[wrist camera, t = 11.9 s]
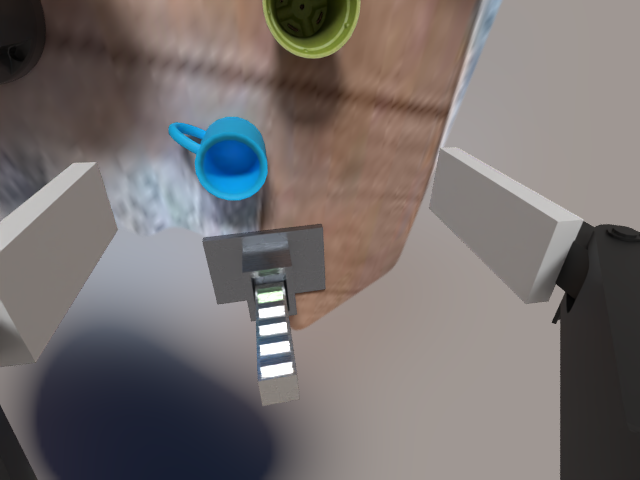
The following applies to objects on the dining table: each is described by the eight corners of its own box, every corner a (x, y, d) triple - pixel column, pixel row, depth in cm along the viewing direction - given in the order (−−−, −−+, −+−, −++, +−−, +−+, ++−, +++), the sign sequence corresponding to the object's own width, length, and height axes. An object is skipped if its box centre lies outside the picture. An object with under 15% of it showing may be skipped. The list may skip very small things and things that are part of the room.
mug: (275, 135, 48) (279, 152, 41) (249, 186, 51) (249, 211, 44) (186, 88, 44) (175, 100, 37) (163, 147, 47) (149, 168, 40)
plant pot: (320, 67, 45) (334, 75, 38) (248, 30, 42) (248, 31, 35) (354, -15, 41) (377, -24, 34) (278, -62, 38) (285, -84, 31)
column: (259, 311, 52) (263, 410, 39) (254, 280, 50) (256, 376, 36) (286, 307, 53) (300, 403, 39) (283, 276, 50) (296, 369, 37)
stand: (218, 299, 60) (213, 343, 52) (203, 237, 54) (195, 275, 46) (324, 284, 62) (336, 324, 54) (321, 223, 56) (334, 257, 48)
